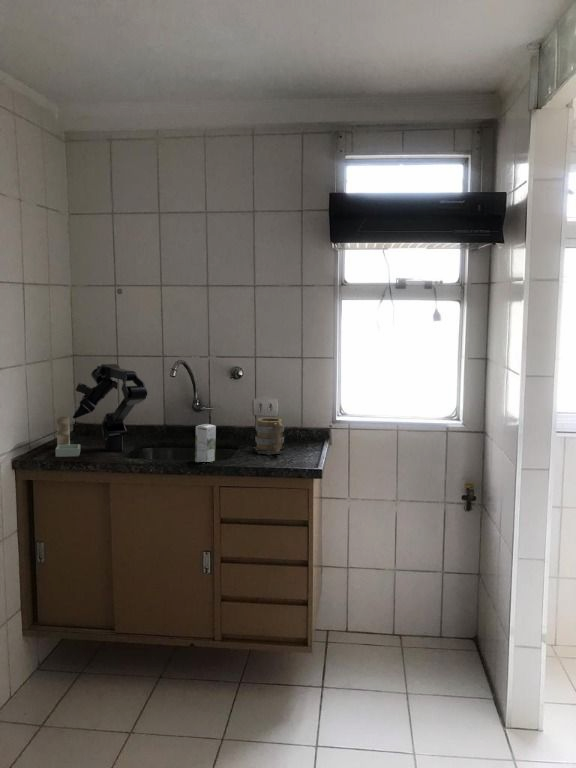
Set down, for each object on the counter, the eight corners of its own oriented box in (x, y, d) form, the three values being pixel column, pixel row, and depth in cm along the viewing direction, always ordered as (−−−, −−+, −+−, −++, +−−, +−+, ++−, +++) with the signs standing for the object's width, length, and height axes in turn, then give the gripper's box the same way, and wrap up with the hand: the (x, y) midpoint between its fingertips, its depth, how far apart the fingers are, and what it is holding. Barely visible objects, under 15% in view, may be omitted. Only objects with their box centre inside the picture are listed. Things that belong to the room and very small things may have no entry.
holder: (80, 451, 269) (80, 444, 268) (78, 456, 260) (78, 448, 260) (58, 452, 267) (58, 444, 266) (55, 456, 258) (55, 449, 258)
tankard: (251, 449, 281) (251, 415, 279) (279, 448, 285) (279, 414, 283) (264, 459, 262) (264, 423, 260) (293, 458, 266) (294, 422, 264)
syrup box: (203, 459, 260) (204, 423, 258) (215, 461, 257) (216, 425, 255) (194, 462, 255) (194, 425, 254) (206, 464, 252) (207, 427, 251)
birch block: (69, 447, 277) (69, 416, 276) (68, 449, 273) (68, 418, 271) (58, 447, 276) (58, 416, 274) (57, 449, 272) (57, 418, 270)
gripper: (88, 374, 282) (62, 399, 281) (85, 378, 264) (57, 406, 263) (107, 392, 285) (81, 417, 284) (106, 398, 267) (78, 425, 266)
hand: (74, 416), depth 274 cm, fingers open, 9 cm apart
